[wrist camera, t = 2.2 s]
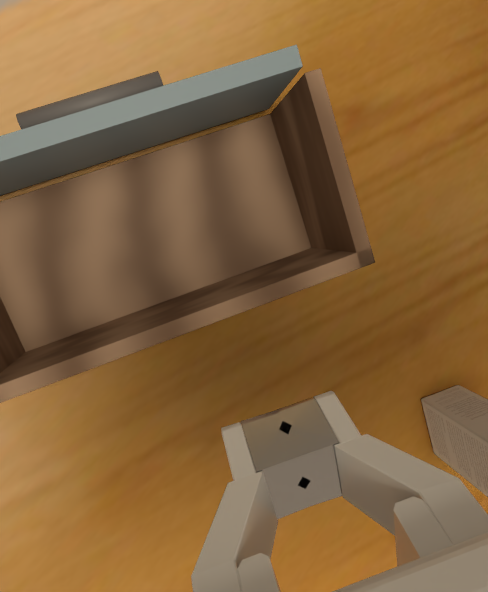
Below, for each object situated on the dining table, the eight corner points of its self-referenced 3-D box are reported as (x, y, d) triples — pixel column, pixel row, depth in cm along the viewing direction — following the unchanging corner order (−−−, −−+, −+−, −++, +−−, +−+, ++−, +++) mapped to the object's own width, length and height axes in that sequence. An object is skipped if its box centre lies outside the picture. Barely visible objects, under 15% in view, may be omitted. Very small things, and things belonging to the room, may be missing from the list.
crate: (278, 113, 35) (320, 68, 26) (321, 254, 38) (375, 262, 28) (-46, 219, 32) (-138, 213, 23) (22, 364, 35) (-36, 416, 25)
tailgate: (259, 80, 34) (291, 26, 25) (268, 109, 34) (302, 66, 25) (-55, 179, 31) (-143, 158, 22) (-41, 208, 32) (-122, 199, 23)
